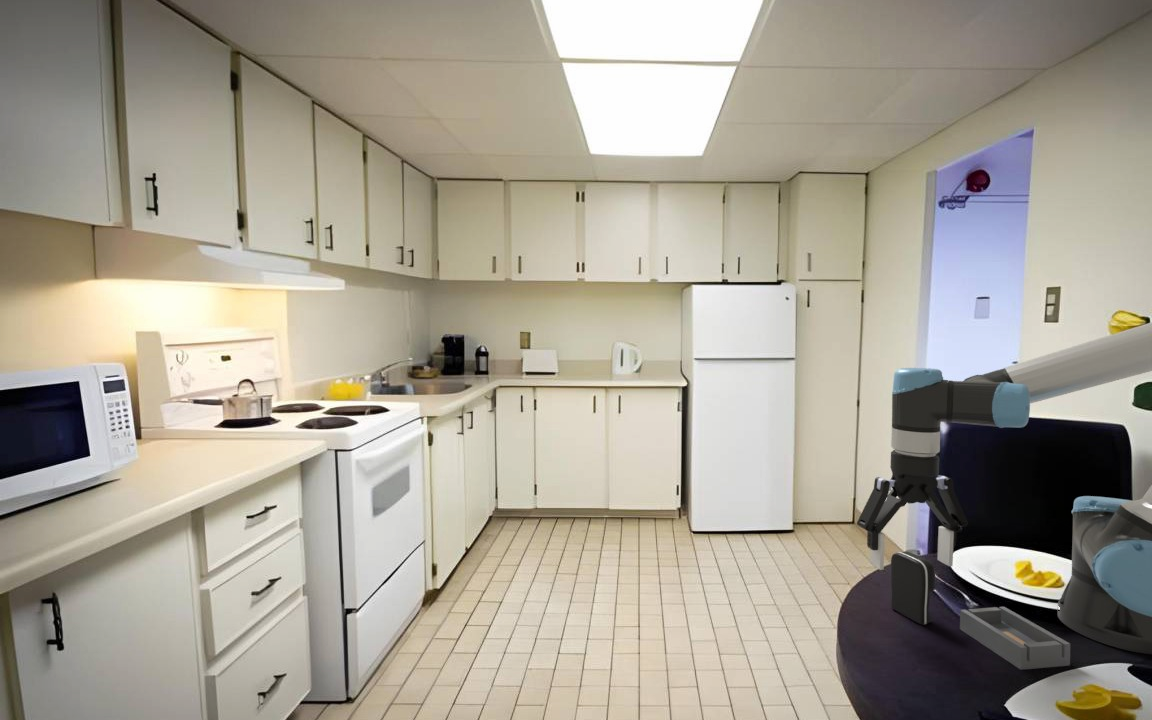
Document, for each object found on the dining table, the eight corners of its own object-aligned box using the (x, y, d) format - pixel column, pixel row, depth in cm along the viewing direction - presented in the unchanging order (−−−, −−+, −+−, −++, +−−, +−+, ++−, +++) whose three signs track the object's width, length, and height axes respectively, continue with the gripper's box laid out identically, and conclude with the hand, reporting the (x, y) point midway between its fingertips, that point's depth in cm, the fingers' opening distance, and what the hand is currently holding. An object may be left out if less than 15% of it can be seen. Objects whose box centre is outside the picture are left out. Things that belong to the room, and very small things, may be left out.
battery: (938, 623, 95) (939, 561, 95) (922, 627, 94) (923, 564, 94) (904, 604, 102) (905, 547, 102) (889, 608, 101) (889, 549, 101)
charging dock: (1003, 625, 94) (1004, 606, 94) (1069, 665, 83) (1070, 643, 83) (959, 629, 94) (960, 609, 93) (1020, 669, 82) (1021, 647, 82)
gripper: (960, 445, 102) (956, 553, 103) (838, 449, 99) (835, 559, 101) (994, 454, 94) (990, 570, 96) (863, 458, 92) (860, 577, 93)
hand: (911, 564), depth 98 cm, fingers open, 13 cm apart
